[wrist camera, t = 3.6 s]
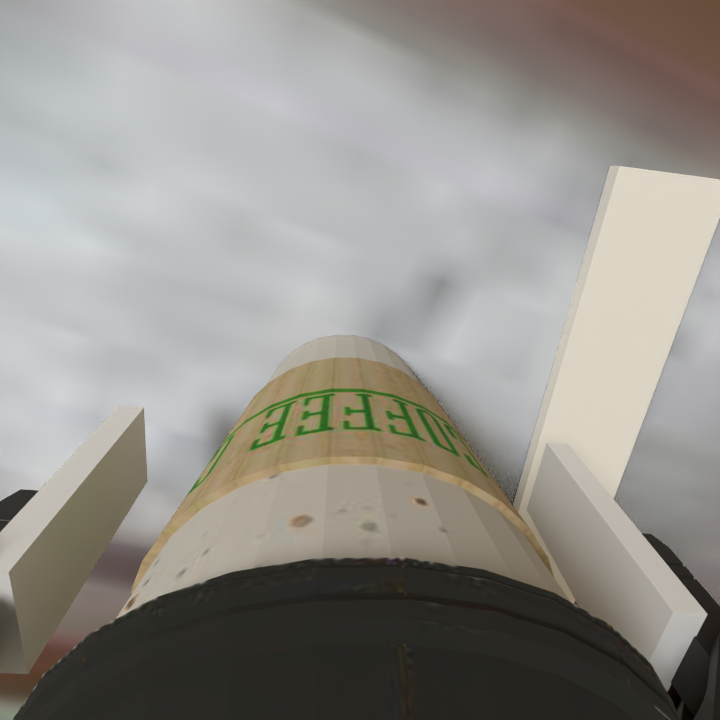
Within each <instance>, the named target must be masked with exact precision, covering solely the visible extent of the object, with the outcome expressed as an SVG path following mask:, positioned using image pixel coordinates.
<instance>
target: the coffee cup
mask: <svg viewBox="0 0 720 720" xmlns="http://www.w3.org/2000/svg"><path fill="white" fill-rule="evenodd" d="M13 720H680V718H679V714H678V712H677V710H676V708H675V707H674V703H673V701H672V699H671V697H670V696H669V694H668V692H667V691H666V689H665V687H664V685H663V684H662V682H661V680H660V679H659V677H658V675H657V673H656V672H655V670H654V668H653V666H652V665H651V663H650V662H649V661H648V660H647V659H646V658H645V657H644V656H643V655H642V654H641V653H640V652H639V651H638V650H637V649H636V648H635V647H633V646H632V645H631V644H630V643H629V642H628V641H627V640H626V639H625V638H624V637H623V636H622V635H621V634H620V633H619V632H618V631H616V630H615V629H614V628H613V627H612V626H611V625H610V624H608V623H607V622H605V621H603V620H601V619H600V618H598V617H596V616H594V615H593V614H591V613H589V612H587V611H586V610H584V609H582V608H580V607H579V606H577V605H575V604H573V603H571V601H570V600H569V599H568V597H567V596H566V594H565V593H564V591H563V590H562V589H561V587H560V586H559V584H558V583H557V581H556V580H555V579H554V575H553V572H552V569H551V565H550V562H549V559H548V557H547V555H546V554H545V552H544V550H543V549H542V547H541V546H540V544H539V542H538V541H537V539H536V538H535V536H534V534H533V533H532V531H531V530H530V528H529V527H528V525H527V524H526V523H525V521H524V520H523V519H522V517H521V516H520V514H519V513H518V512H517V510H516V509H515V508H514V506H513V505H512V504H511V502H510V501H509V499H508V498H507V497H506V495H505V494H504V493H503V491H502V490H501V488H500V487H499V486H498V484H497V483H496V482H495V480H494V479H493V477H492V476H491V475H490V473H489V472H488V471H487V469H486V468H485V466H484V465H483V464H482V462H481V461H480V460H479V458H478V457H477V455H476V454H475V453H474V451H473V450H472V449H471V447H470V446H469V445H468V443H467V442H466V440H465V439H464V438H463V436H462V435H461V434H460V432H459V431H458V429H457V428H456V427H455V425H454V424H453V423H452V421H451V420H450V418H449V417H448V416H447V414H446V413H445V412H444V410H443V409H442V407H441V406H440V405H439V403H438V402H437V401H436V399H435V398H434V397H433V396H432V395H431V394H430V393H429V392H428V391H427V390H426V389H425V388H424V387H423V386H422V385H421V384H420V383H419V382H418V380H417V379H416V377H415V376H414V375H413V373H412V372H411V370H410V369H409V367H408V366H407V364H406V363H405V362H404V361H403V360H402V359H401V358H400V357H399V356H398V355H397V354H396V353H395V352H393V351H392V350H390V349H389V348H387V347H386V346H384V345H383V344H380V343H378V342H376V341H373V340H371V339H368V338H363V337H358V336H353V335H335V336H329V337H323V338H319V339H317V340H314V341H311V342H309V343H306V344H304V345H303V346H301V347H300V348H298V349H296V350H295V351H293V352H292V353H291V354H290V355H289V356H288V357H287V358H286V359H285V360H283V361H282V363H281V364H280V365H279V367H278V368H277V370H276V371H275V373H274V374H273V376H272V377H271V379H270V380H269V382H268V383H267V385H266V386H265V387H264V388H263V389H262V390H261V391H260V392H259V393H257V394H256V395H255V396H254V398H253V399H252V401H251V402H250V404H249V405H248V407H247V408H246V409H245V411H244V412H243V414H242V415H241V417H240V418H239V420H238V421H237V423H236V424H235V426H234V427H233V428H232V430H231V431H230V433H229V434H228V436H227V437H226V439H225V440H224V442H223V443H222V445H221V446H220V448H219V449H218V451H217V452H216V453H215V455H214V456H213V458H212V459H211V461H210V462H209V464H208V465H207V467H206V468H205V470H204V471H203V473H202V474H201V476H200V477H199V478H198V480H197V481H196V483H195V484H194V486H193V487H192V489H191V490H190V492H189V493H188V495H187V496H186V498H185V499H184V501H183V502H182V503H181V505H180V506H179V508H178V509H177V511H176V512H175V514H174V515H173V517H172V518H171V520H170V521H169V523H168V524H167V526H166V527H165V529H164V530H163V531H162V533H161V534H160V536H159V537H158V539H157V540H156V542H155V543H154V545H153V546H152V548H151V549H150V551H149V552H148V554H147V555H146V556H145V558H144V559H143V561H142V563H141V566H140V568H139V571H138V574H137V577H136V579H135V582H134V585H133V588H132V590H131V593H130V598H129V599H128V601H127V603H126V604H125V606H124V607H123V609H122V610H121V612H120V613H119V615H118V616H117V618H116V619H115V620H113V621H111V622H110V623H108V624H106V625H104V626H102V627H100V628H99V629H97V630H95V631H93V632H91V633H90V634H89V635H88V636H87V637H86V638H84V639H83V640H82V641H81V642H80V643H79V644H77V645H76V646H75V647H74V648H73V649H72V650H71V651H69V652H68V653H67V654H66V655H65V656H64V657H63V658H61V659H60V660H59V661H58V662H57V663H56V664H54V665H53V666H52V667H51V668H50V669H49V670H48V671H46V672H45V673H44V674H43V676H42V677H41V679H40V680H39V682H38V683H37V685H36V686H35V687H34V689H33V690H32V692H31V693H30V695H29V696H28V698H27V699H26V701H25V702H24V704H23V705H22V707H21V708H20V710H19V711H18V713H17V714H16V716H15V717H14V719H13Z"/></svg>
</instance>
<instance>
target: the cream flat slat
mask: <svg viewBox="0 0 720 720" xmlns="http://www.w3.org/2000/svg"><path fill="white" fill-rule="evenodd" d="M719 218H720V180H719V179H712V178H704V177H697V176H690V175H682V174H675V173H667V172H660V171H652V170H645V169H637V168H630V167H623V166H610V168H609V171H608V175H607V178H606V182H605V185H604V189H603V192H602V196H601V199H600V203H599V206H598V210H597V213H596V217H595V220H594V224H593V227H592V231H591V234H590V238H589V241H588V245H587V248H586V252H585V255H584V258H583V262H582V265H581V269H580V272H579V276H578V279H577V283H576V286H575V290H574V293H573V297H572V300H571V304H570V307H569V311H568V314H567V318H566V321H565V325H564V328H563V332H562V335H561V339H560V342H559V346H558V349H557V353H556V356H555V360H554V363H553V367H552V370H551V374H550V377H549V381H548V384H547V388H546V391H545V395H544V398H543V402H542V405H541V409H540V412H539V416H538V419H537V423H536V426H535V430H534V433H533V437H532V440H531V444H530V447H529V451H528V454H527V458H526V461H525V465H524V468H523V472H522V475H521V479H520V482H519V486H518V489H517V493H516V496H515V500H514V503H513V506H514V508H515V509H516V510H517V512H518V513H519V514H520V516H521V517H522V519H523V520H524V521H525V523H526V524H527V525H528V527H529V528H530V530H531V531H532V533H533V534H534V536H535V538H536V539H537V541H538V542H539V544H540V546H541V547H542V549H543V550H544V552H545V554H546V555H547V557H548V559H549V562H550V565H551V569H552V572H553V575H554V579H555V580H556V581H557V583H558V584H559V586H560V587H561V589H562V590H563V591H564V593H565V594H566V596H567V597H568V599H569V600H570V601H571V603H573V604H574V603H575V598H574V596H573V594H572V593H571V591H570V589H569V587H568V585H567V583H566V581H565V580H564V578H563V576H562V574H561V572H560V570H559V569H558V567H557V565H556V563H555V561H554V559H553V557H552V556H551V554H550V552H549V550H548V548H547V546H546V545H545V543H544V541H543V539H542V537H541V535H540V533H539V532H538V530H537V528H536V526H535V524H534V522H533V521H532V519H531V517H530V515H529V513H528V511H527V507H528V503H529V500H530V497H531V493H532V490H533V487H534V483H535V480H536V477H537V473H538V470H539V467H540V463H541V460H542V457H543V453H544V450H545V447H546V443H556V444H567V445H569V446H570V447H571V448H572V449H573V451H574V452H575V453H576V454H577V455H578V457H579V458H580V459H581V460H582V462H583V463H584V464H585V465H586V466H587V468H588V469H589V470H590V471H591V472H592V474H593V475H594V476H595V477H596V479H597V480H598V481H599V482H600V483H601V485H602V486H603V487H604V488H605V490H606V491H607V492H608V493H609V494H610V496H611V497H612V498H613V499H614V497H615V494H616V491H617V489H618V486H619V483H620V481H621V478H622V475H623V473H624V470H625V467H626V465H627V462H628V460H629V457H630V454H631V452H632V449H633V446H634V444H635V441H636V438H637V436H638V433H639V430H640V428H641V425H642V422H643V420H644V417H645V414H646V412H647V409H648V406H649V404H650V401H651V398H652V396H653V393H654V390H655V388H656V385H657V383H658V380H659V377H660V375H661V372H662V369H663V367H664V364H665V361H666V359H667V356H668V353H669V351H670V348H671V345H672V343H673V340H674V337H675V335H676V332H677V329H678V327H679V324H680V321H681V319H682V316H683V314H684V311H685V308H686V306H687V303H688V300H689V298H690V295H691V292H692V290H693V287H694V284H695V282H696V279H697V276H698V274H699V271H700V268H701V266H702V263H703V260H704V258H705V255H706V252H707V250H708V247H709V244H710V242H711V239H712V237H713V234H714V231H715V229H716V226H717V223H718V221H719Z"/></svg>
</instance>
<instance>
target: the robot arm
mask: <svg viewBox="0 0 720 720" xmlns="http://www.w3.org/2000/svg"><path fill="white" fill-rule="evenodd" d="M146 482H147V464H146V444H145V423H144V408H141V407H130V406H118V407H117V408H116V409H115V410H114V411H113V412H112V413H111V414H110V415H109V416H108V417H107V418H106V419H105V421H104V422H103V423H102V424H101V425H100V426H99V427H98V428H97V429H96V430H95V431H94V432H93V433H92V434H91V436H90V437H89V438H88V439H87V440H86V441H85V442H84V443H83V444H82V445H81V446H80V447H79V448H78V449H77V451H76V452H75V453H74V454H73V455H72V456H71V457H70V458H69V459H68V460H67V461H66V462H65V463H64V464H63V465H62V467H61V468H60V469H59V470H58V471H57V472H56V473H55V474H54V475H53V476H52V477H51V478H50V479H49V480H48V482H47V483H46V484H45V485H44V486H43V487H42V488H41V489H40V490H39V491H35V490H19V491H17V492H16V493H14V494H12V495H10V496H9V497H7V498H5V499H3V500H2V501H0V673H13V674H28V673H29V672H30V670H31V668H32V667H33V665H34V664H35V662H36V660H37V659H38V657H39V656H40V654H41V652H42V651H43V649H44V647H45V646H46V644H47V643H48V641H49V639H50V638H51V636H52V634H53V633H54V631H55V630H56V628H57V626H58V625H59V623H60V622H61V620H62V618H63V617H64V615H65V613H66V612H67V610H68V609H69V607H70V605H71V604H72V602H73V600H74V599H75V597H76V596H77V594H78V592H79V591H80V589H81V588H82V586H83V584H84V583H85V581H86V579H87V578H88V576H89V575H90V573H91V571H92V570H93V568H94V567H95V565H96V563H97V562H98V560H99V558H100V557H101V555H102V554H103V552H104V550H105V549H106V547H107V545H108V544H109V542H110V541H111V539H112V537H113V536H114V534H115V533H116V531H117V529H118V528H119V526H120V524H121V523H122V521H123V520H124V518H125V516H126V515H127V513H128V512H129V510H130V508H131V507H132V505H133V503H134V502H135V500H136V499H137V497H138V495H139V494H140V492H141V490H142V489H143V487H144V486H145V484H146ZM527 511H528V513H529V515H530V517H531V519H532V521H533V522H534V524H535V526H536V528H537V530H538V532H539V533H540V535H541V537H542V539H543V541H544V543H545V545H546V546H547V548H548V550H549V552H550V554H551V556H552V557H553V559H554V561H555V563H556V565H557V567H558V569H559V570H560V572H561V574H562V576H563V578H564V580H565V581H566V583H567V585H568V587H569V589H570V591H571V593H572V594H573V596H574V598H575V600H576V602H577V604H578V605H579V607H580V608H582V609H584V610H586V611H587V612H589V613H591V614H593V615H594V616H596V617H598V618H600V619H601V620H603V621H605V622H607V623H608V624H610V625H611V626H612V627H613V628H614V629H615V630H616V631H618V632H619V633H620V634H621V635H622V636H623V637H624V638H625V639H626V640H627V641H628V642H629V643H630V644H631V645H632V646H633V647H635V648H636V649H637V650H638V651H639V652H640V653H641V654H642V655H643V656H644V657H645V658H646V659H647V660H648V661H649V662H650V663H651V665H652V666H653V668H654V670H655V672H656V673H657V675H658V677H659V679H660V680H661V682H662V684H663V685H664V687H665V689H666V691H667V692H668V690H669V688H670V686H671V684H672V685H673V686H674V688H675V690H676V691H677V693H678V694H679V696H680V697H681V699H682V700H683V701H682V703H681V705H680V707H679V708H678V710H677V712H678V714H679V718H680V720H720V606H719V605H718V604H717V603H716V602H715V601H714V599H713V598H712V597H711V596H710V595H709V594H708V592H707V591H706V590H705V589H704V588H703V587H702V585H701V584H700V583H699V582H698V581H697V580H695V579H694V578H693V577H694V576H693V575H692V574H691V573H690V572H689V570H688V569H687V568H686V567H683V563H682V562H681V561H680V560H679V559H678V558H677V556H676V555H675V554H674V553H673V552H672V551H671V549H670V548H669V547H667V546H666V545H665V544H663V543H662V542H661V541H659V540H658V539H657V538H655V537H654V536H653V535H651V534H643V533H641V532H640V531H639V530H638V529H637V527H636V526H635V525H634V524H633V523H632V521H631V520H630V519H629V518H628V516H627V515H626V514H625V513H624V512H623V510H622V509H621V508H620V507H619V505H618V504H617V503H616V502H615V501H614V499H613V498H612V497H611V496H610V494H609V493H608V492H607V491H606V490H605V488H604V487H603V486H602V485H601V483H600V482H599V481H598V480H597V479H596V477H595V476H594V475H593V474H592V472H591V471H590V470H589V469H588V468H587V466H586V465H585V464H584V463H583V462H582V460H581V459H580V458H579V457H578V455H577V454H576V453H575V452H574V451H573V449H572V448H571V447H570V446H569V445H567V444H556V443H546V447H545V450H544V453H543V457H542V460H541V463H540V467H539V470H538V473H537V477H536V480H535V483H534V487H533V490H532V493H531V497H530V500H529V503H528V507H527Z"/></svg>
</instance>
